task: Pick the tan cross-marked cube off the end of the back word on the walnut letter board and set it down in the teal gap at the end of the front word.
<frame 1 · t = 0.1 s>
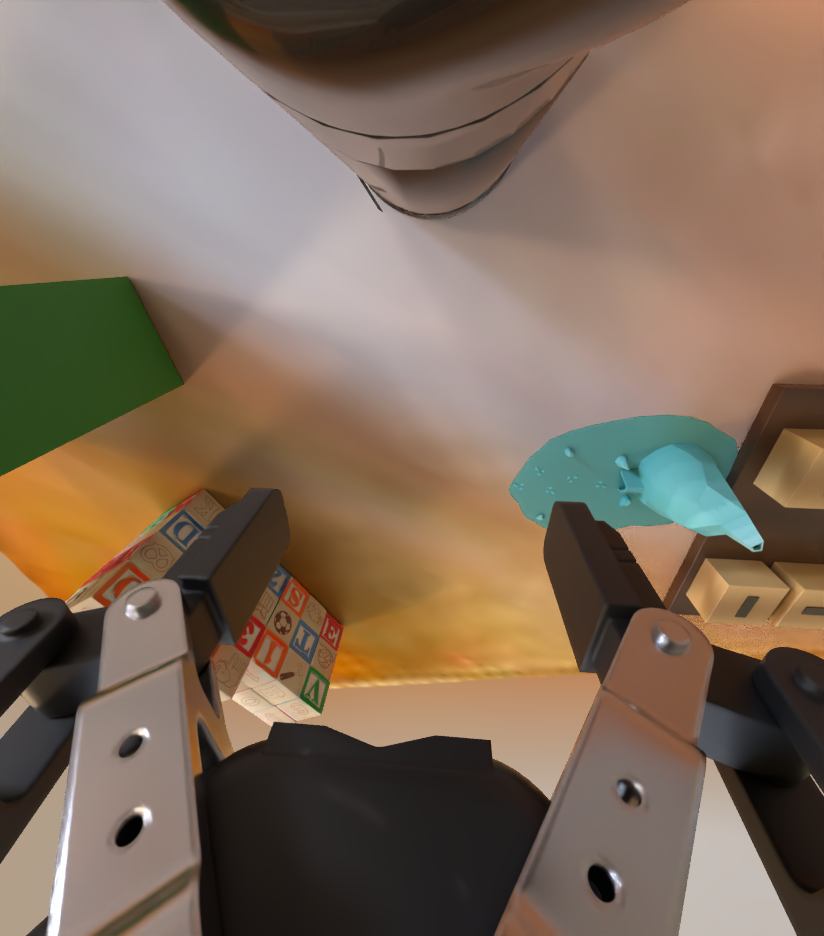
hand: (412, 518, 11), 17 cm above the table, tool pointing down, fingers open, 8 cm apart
stack of blocks: (261, 573, 38), on the table
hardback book: (59, 356, 28), on the table
diorama: (612, 475, 30), on the table, touching letter board
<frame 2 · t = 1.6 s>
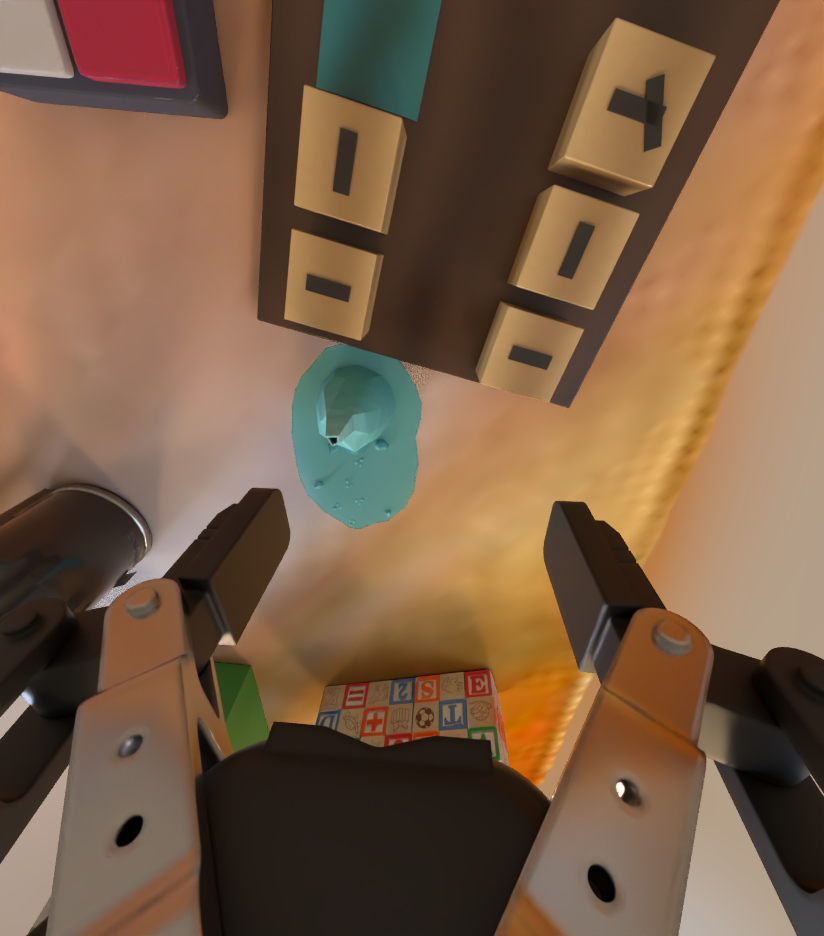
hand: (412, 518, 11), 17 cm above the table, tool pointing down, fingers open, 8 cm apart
letter board: (466, 190, 21), on the table
stack of blocks: (410, 689, 47), on the table
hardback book: (235, 699, 50), on the table
diorama: (358, 445, 30), on the table
tan cross-marked cube: (608, 129, 18), point 1 cm above the table, touching letter board
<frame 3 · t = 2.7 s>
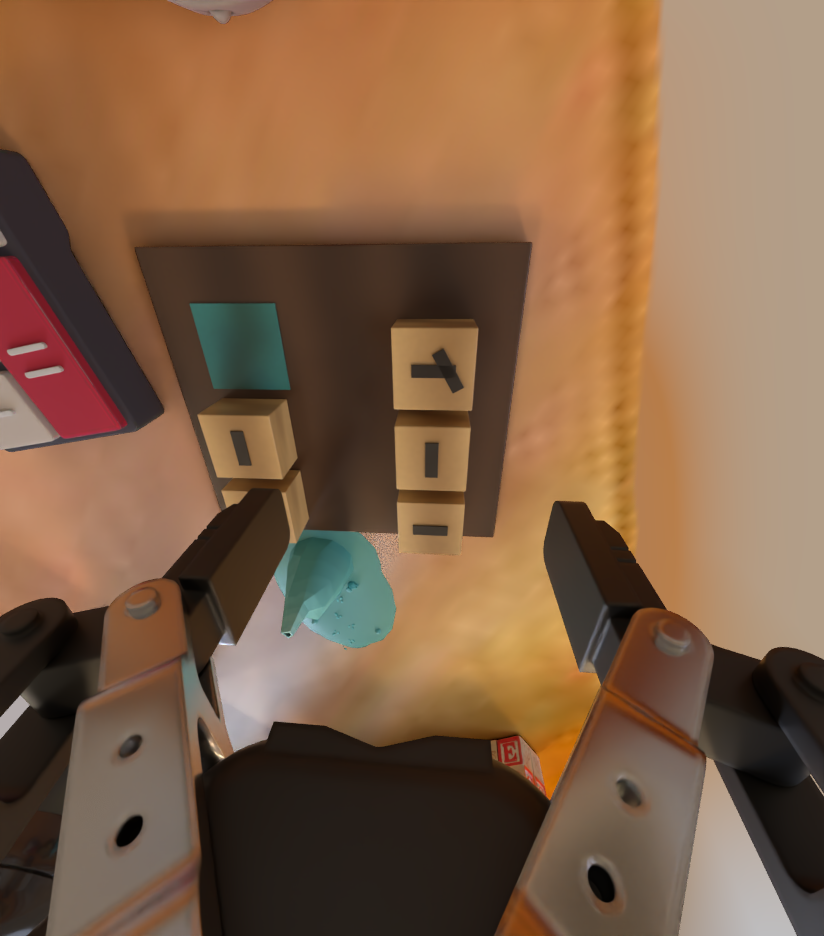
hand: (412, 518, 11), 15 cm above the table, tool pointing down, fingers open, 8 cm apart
letter board: (347, 411, 26), on the table
calculator: (39, 319, 24), on the table
stack of blocks: (455, 757, 50), on the table
diorama: (336, 585, 35), on the table, touching letter board
tan cross-marked cube: (434, 358, 22), point 1 cm above the table, touching letter board
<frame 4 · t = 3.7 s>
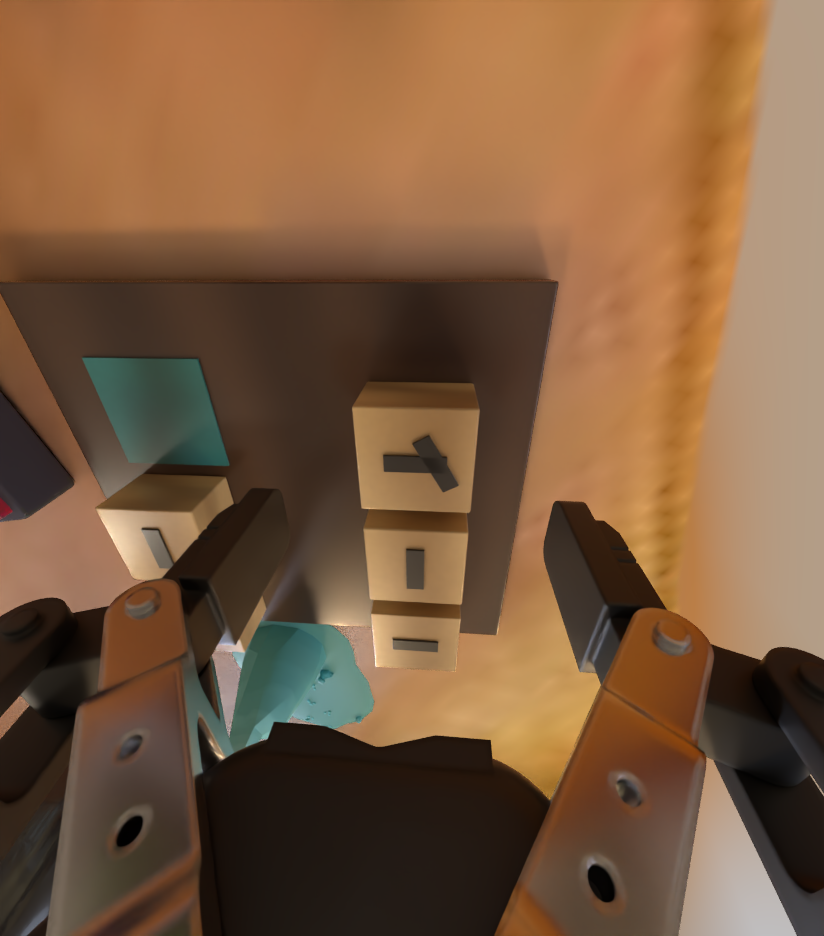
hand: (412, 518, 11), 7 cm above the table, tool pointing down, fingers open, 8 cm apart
letter board: (308, 488, 20), on the table
diorama: (308, 669, 30), on the table
tan cross-marked cube: (419, 431, 16), point 1 cm above the table, touching letter board
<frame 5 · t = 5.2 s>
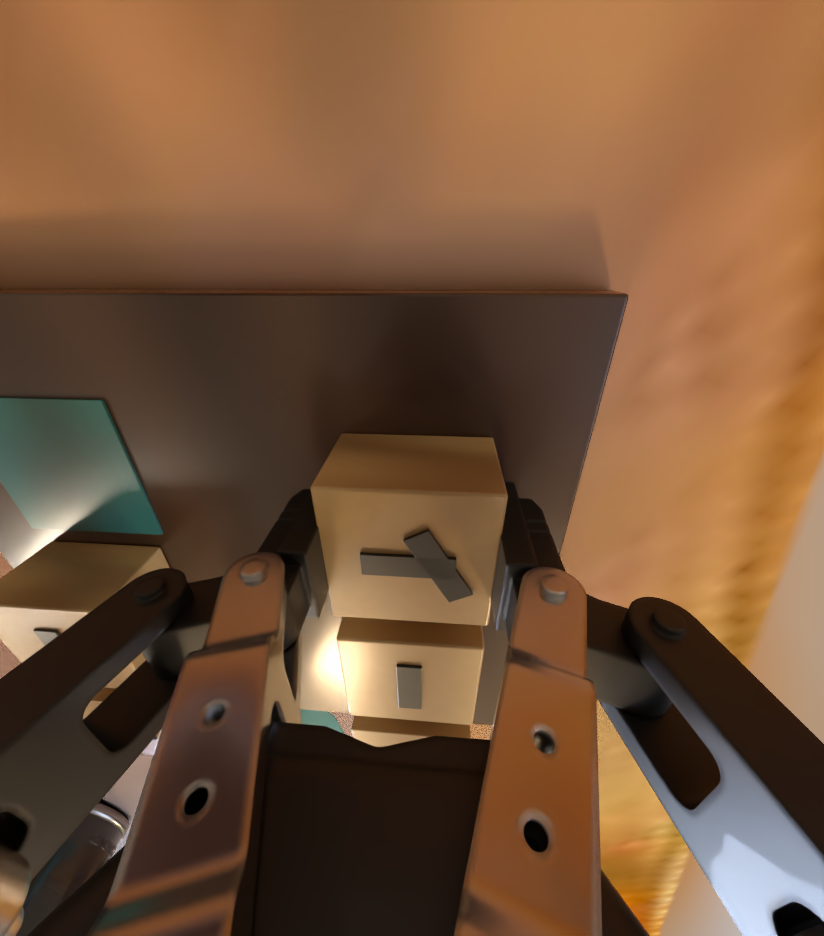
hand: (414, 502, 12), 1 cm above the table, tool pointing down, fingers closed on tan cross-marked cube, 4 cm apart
letter board: (273, 556, 15), on the table
diorama: (287, 744, 25), on the table, touching letter board
tan cross-marked cube: (416, 497, 12), point 1 cm above the table, touching gripper, letter board
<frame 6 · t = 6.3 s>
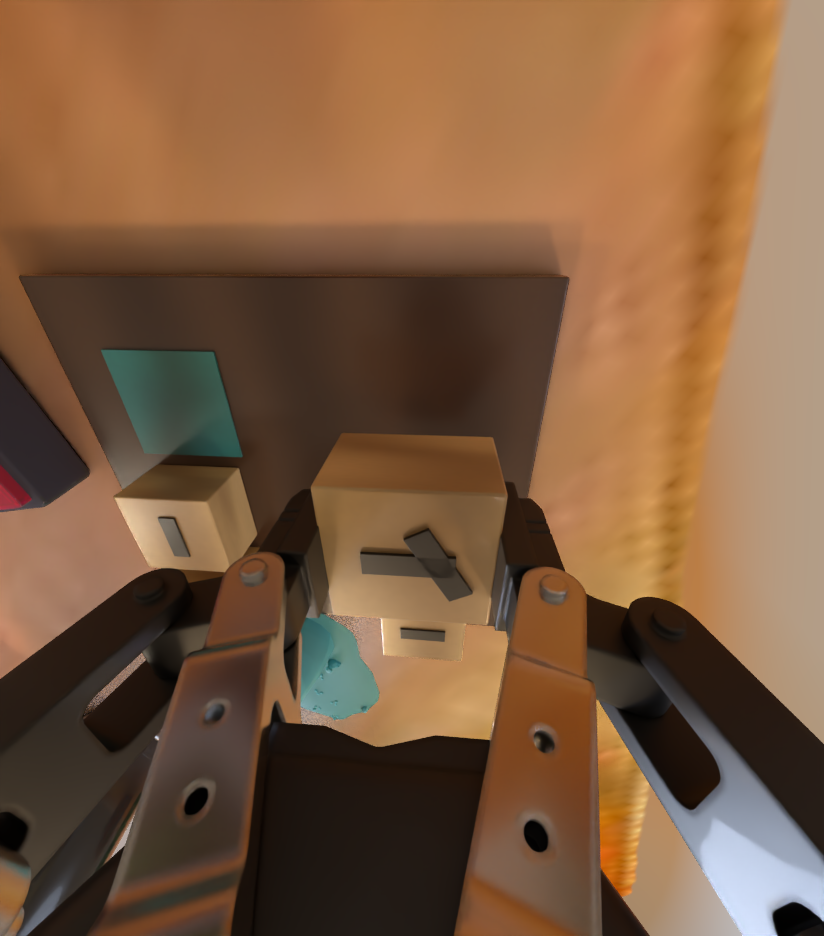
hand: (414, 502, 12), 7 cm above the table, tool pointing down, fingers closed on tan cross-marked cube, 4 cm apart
letter board: (319, 480, 20), on the table
diorama: (316, 659, 30), on the table
tan cross-marked cube: (416, 496, 12), point 7 cm above the table, touching gripper
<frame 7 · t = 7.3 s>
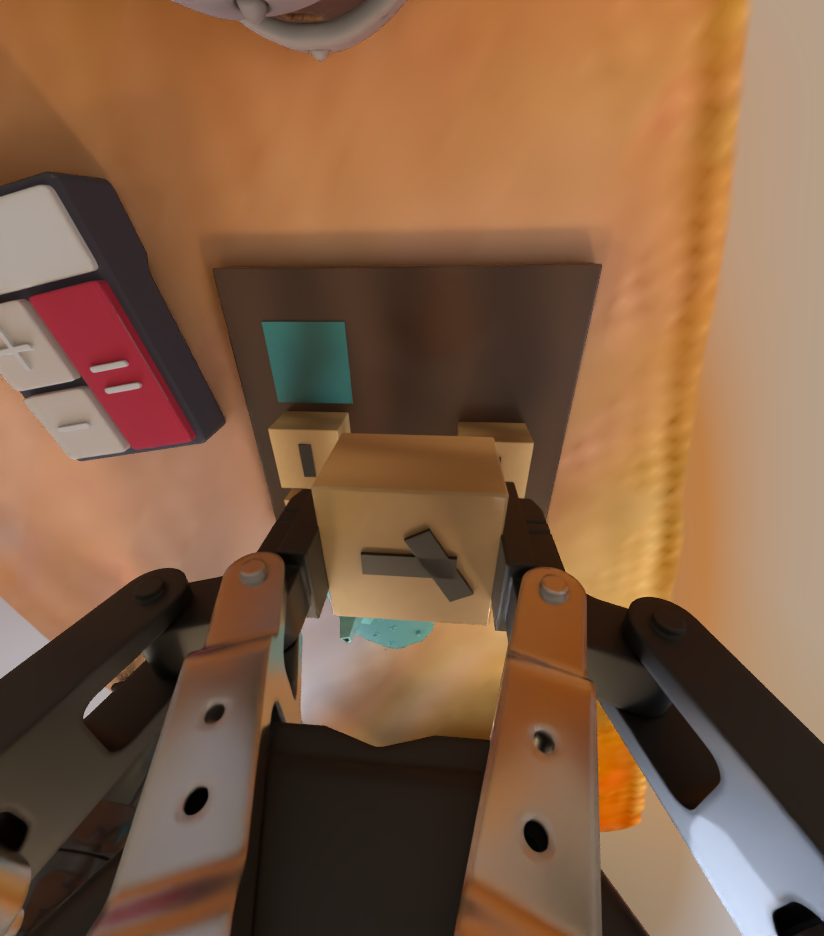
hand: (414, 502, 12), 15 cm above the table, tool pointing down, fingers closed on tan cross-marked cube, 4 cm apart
letter board: (404, 423, 26), on the table
calculator: (111, 335, 25), on the table
diorama: (380, 589, 37), on the table, touching letter board
tan cross-marked cube: (416, 496, 12), point 14 cm above the table, touching gripper
when the fingers open (1 cm above the table, at t = 11.7 s): tan cross-marked cube stays where it is, resting on letter board.
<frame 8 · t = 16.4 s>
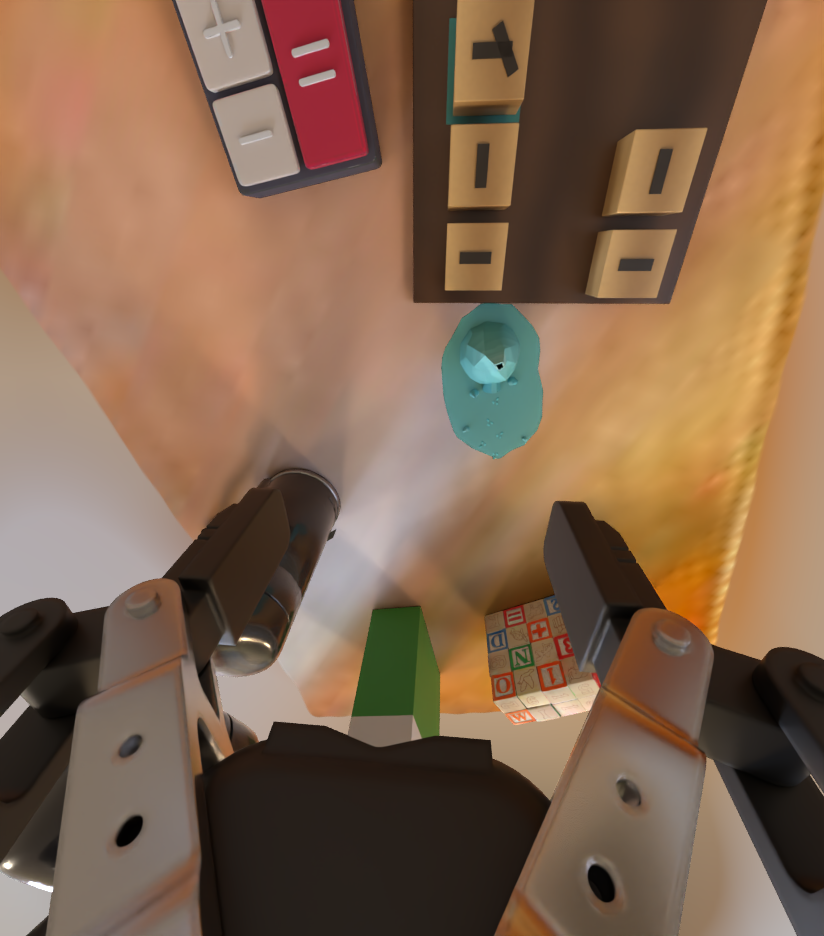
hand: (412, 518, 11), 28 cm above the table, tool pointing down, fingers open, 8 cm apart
letter board: (558, 158, 28), on the table
calculator: (287, 57, 26), on the table
stack of blocks: (560, 606, 53), on the table
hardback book: (408, 643, 60), on the table
diorama: (491, 389, 38), on the table
tan cross-marked cube: (487, 71, 25), point 1 cm above the table, touching letter board
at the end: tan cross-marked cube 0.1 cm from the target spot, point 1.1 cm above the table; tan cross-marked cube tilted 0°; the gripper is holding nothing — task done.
